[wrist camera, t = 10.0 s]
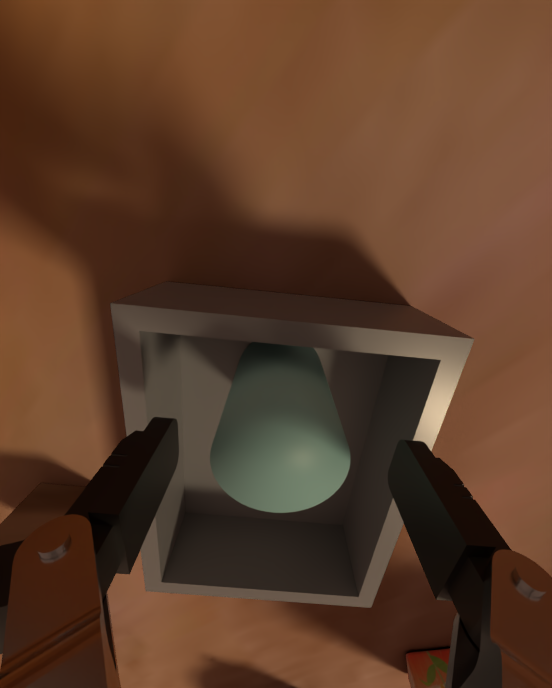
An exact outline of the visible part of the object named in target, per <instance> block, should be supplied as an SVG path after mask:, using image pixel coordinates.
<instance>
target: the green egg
mask: <svg viewBox="0 0 552 688" xmlns="http://www.w3.org/2000/svg"><path fill="white" fill-rule="evenodd" d="M210 465H211V469H212V472H213V475H214V477H215V479H216V481H217V482H218V484H219V485H220V486H221V488H222V489H223V490H224V491H225V492H226V493H227V494H228V495H229V496H231V497H232V498H233V499H235V500H236V501H238V502H240V503H241V504H243V505H246V506H248V507H251V508H254V509H257V510H261V511H265V512H273V513H287V512H296V511H301V510H305V509H308V508H311V507H313V506H316V505H318V504H320V503H322V502H323V501H325V500H326V499H328V498H329V497H330V496H332V495H333V494H334V493H335V492H336V491H337V490H338V489H339V488H340V486H341V485H342V484H343V482H344V480H345V479H346V477H347V474H348V471H349V468H350V450H349V446H348V443H347V440H346V436H345V433H344V430H343V427H342V424H341V421H340V418H339V415H338V412H337V409H336V406H335V403H334V400H333V397H332V394H331V391H330V388H329V385H328V382H327V379H326V376H325V373H324V370H323V367H322V364H321V361H320V358H319V356H318V354H317V352H316V351H315V349H314V348H312V347H301V346H291V345H280V344H270V343H260V342H252V343H251V344H250V345H249V346H248V347H247V348H246V349H245V350H244V352H243V354H242V356H241V358H240V360H239V363H238V366H237V369H236V373H235V376H234V379H233V382H232V385H231V388H230V391H229V394H228V397H227V400H226V403H225V406H224V409H223V412H222V415H221V419H220V422H219V425H218V428H217V431H216V434H215V437H214V440H213V443H212V447H211V451H210Z"/></svg>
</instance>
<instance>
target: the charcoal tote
mask: <svg viewBox="0 0 552 688" xmlns="http://www.w3.org/2000/svg"><path fill="white" fill-rule="evenodd" d="M110 306H111V314H112V322H113V330H114V338H115V346H116V354H117V362H118V371H119V379H120V387H121V395H122V403H123V411H124V419H125V427H126V435H127V436H128V435H130V434H131V433H133V432H134V431H135V430H137V431H144V430H145V428H146V427H147V425H148V424H149V422H150V421H151V420H152V418H153V417H163V418H175V419H177V422H178V439H179V458H178V463H177V467H176V470H175V472H174V474H173V477H172V479H171V481H170V483H169V486H168V488H167V490H166V493H165V495H164V497H163V499H162V502H161V504H160V506H159V508H158V511H157V513H156V515H155V517H154V520H153V522H152V524H151V526H150V529H149V531H148V533H147V536H146V538H145V540H144V542H143V545H142V547H141V557H142V565H143V573H144V581H145V589H146V591H151V592H165V593H178V594H192V595H205V596H219V597H232V598H246V599H259V600H272V601H286V602H299V603H313V604H326V605H340V606H353V607H367V608H371V607H372V604H373V601H374V599H375V596H376V594H377V591H378V588H379V586H380V583H381V581H382V578H383V575H384V573H385V570H386V568H387V565H388V562H389V560H390V557H391V555H392V552H393V549H394V547H395V544H396V542H397V539H398V536H399V534H400V531H401V529H402V526H403V523H404V522H403V520H402V518H401V515H400V513H399V510H398V508H397V506H396V503H395V501H394V498H393V496H392V494H391V491H390V489H389V485H388V470H389V467H390V464H391V461H392V458H393V455H394V452H395V449H396V446H397V444H398V442H399V441H400V440H413V441H423V442H424V443H425V444H426V445H427V446H428V448H429V449H430V450H431V451H432V448H433V445H434V443H435V440H436V438H437V435H438V432H439V430H440V427H441V425H442V422H443V419H444V417H445V414H446V412H447V409H448V406H449V404H450V401H451V399H452V396H453V393H454V391H455V388H456V386H457V383H458V380H459V378H460V375H461V373H462V370H463V367H464V365H465V362H466V360H467V357H468V354H469V352H470V349H471V347H472V344H473V341H474V338H472V337H470V336H468V335H466V334H464V333H462V332H460V331H458V330H456V329H454V328H452V327H451V326H449V325H447V324H445V323H443V322H441V321H439V320H437V319H435V318H433V317H431V316H429V315H428V314H426V313H424V312H422V311H420V310H418V309H416V308H414V307H412V306H407V305H397V304H387V303H377V302H367V301H357V300H347V299H337V298H327V297H317V296H307V295H297V294H287V293H277V292H267V291H257V290H247V289H237V288H227V287H217V286H207V285H197V284H187V283H177V282H167V281H166V282H164V283H161V284H159V285H156V286H153V287H151V288H148V289H146V290H143V291H141V292H138V293H135V294H133V295H130V296H128V297H125V298H122V299H120V300H117V301H115V302H112V303H110ZM252 342H260V343H270V344H280V345H291V346H301V347H312V348H314V349H315V351H316V352H317V354H318V356H319V358H320V361H321V364H322V367H323V370H324V373H325V376H326V379H327V382H328V385H329V388H330V391H331V394H332V397H333V400H334V403H335V406H336V409H337V412H338V415H339V418H340V421H341V424H342V427H343V430H344V433H345V436H346V440H347V443H348V446H349V450H350V468H349V471H348V474H347V477H346V479H345V480H344V482H343V484H342V485H341V486H340V488H339V489H338V490H337V491H336V492H335V493H334V494H333V495H332V496H330V497H329V498H328V499H326V500H325V501H323V502H322V503H320V504H318V505H316V506H313V507H311V508H308V509H305V510H301V511H296V512H287V513H273V512H265V511H261V510H257V509H254V508H251V507H248V506H246V505H243V504H241V503H240V502H238V501H236V500H235V499H233V498H232V497H231V496H229V495H228V494H227V493H226V492H225V491H224V490H223V489H222V488H221V486H220V485H219V484H218V482H217V481H216V479H215V477H214V475H213V472H212V469H211V465H210V451H211V447H212V443H213V440H214V437H215V434H216V431H217V428H218V425H219V422H220V419H221V415H222V412H223V409H224V406H225V403H226V400H227V397H228V394H229V391H230V388H231V385H232V382H233V379H234V376H235V373H236V369H237V366H238V363H239V360H240V358H241V356H242V354H243V352H244V350H245V349H246V348H247V347H248V346H249V345H250V344H251V343H252Z"/></svg>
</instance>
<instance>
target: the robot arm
mask: <svg viewBox="0 0 552 688" xmlns="http://www.w3.org/2000/svg"><path fill="white" fill-rule="evenodd" d="M178 458H179V439H178V422H177V419H175V418H163V417H153V418H152V420H151V421H150V422H149V424H148V425H147V427H146V428H145V430H144V431H137V430H135V431H134V432H133V433H131V434H130V435H128V436H127V437H126V438H124V439H123V440H121V442H120V443H119V444H118V446H117V447H116V448H115V450H114V451H113V452H112V455H111V456H109V457H108V459H107V460H106V461H105V463H104V464H103V467H101V468H100V469H99V471H98V472H97V473H96V474H95V476H94V477H93V478H92V480H91V481H90V482H89V484H88V485H87V486H86V488H85V489H84V490H83V492H82V493H81V494H80V495H79V497H78V498H77V499H76V501H75V502H74V503H73V505H72V506H71V507H70V509H69V510H68V511H67V512H66V513H65V515H64V516H60V517H58V518H55V519H53V520H50V521H48V522H47V523H45V524H43V525H41V526H40V527H39V528H37V529H36V530H35V531H33V532H32V533H31V534H30V535H29V536H28V537H27V538H26V539H25V540H22V541H18V542H14V543H10V544H5V545H1V546H0V654H2V653H3V655H2V663H1V669H0V688H121V685H120V679H119V673H118V666H117V659H116V652H115V645H114V638H113V631H112V624H111V616H110V609H109V602H108V595H107V590H108V588H109V586H110V584H111V582H112V580H113V578H114V576H115V574H116V573H119V574H130V572H131V570H132V567H133V565H134V563H135V560H136V558H137V556H138V554H139V551H140V549H141V547H142V545H143V542H144V540H145V538H146V536H147V533H148V531H149V529H150V526H151V524H152V522H153V520H154V517H155V515H156V513H157V511H158V508H159V506H160V504H161V502H162V499H163V497H164V495H165V493H166V490H167V488H168V486H169V483H170V481H171V479H172V477H173V474H174V472H175V470H176V467H177V463H178ZM388 485H389V489H390V491H391V494H392V496H393V498H394V501H395V503H396V506H397V508H398V510H399V513H400V515H401V518H402V520H403V522H404V525H405V527H406V529H407V532H408V534H409V537H410V539H411V541H412V544H413V546H414V548H415V551H416V553H417V556H418V558H419V560H420V563H421V565H422V567H423V570H424V572H425V575H426V577H427V579H428V582H429V584H430V586H431V589H432V591H433V594H434V596H435V598H436V600H447V601H453V603H454V605H455V607H456V609H457V613H456V615H455V617H454V623H453V630H452V638H451V646H450V653H449V661H448V669H447V676H446V684H445V688H552V577H551V576H550V575H549V574H548V573H547V572H546V571H545V570H544V569H543V568H541V567H540V566H539V565H538V564H536V563H535V562H534V561H532V560H531V559H529V558H527V557H526V556H524V555H522V554H520V553H517V552H515V551H512V550H511V549H510V548H509V546H508V545H507V543H506V542H505V541H504V539H503V538H502V537H501V535H500V534H499V532H498V531H497V530H496V528H495V527H494V525H493V524H492V523H491V521H490V520H489V518H488V517H487V516H486V514H485V513H484V512H483V510H482V509H481V507H480V506H479V505H478V503H477V502H476V500H473V496H472V495H471V494H470V492H469V491H468V489H467V488H466V487H464V484H463V482H462V481H461V480H460V478H459V477H458V476H457V474H456V473H455V471H454V470H453V469H452V468H450V467H449V466H448V465H447V464H446V463H445V462H443V461H442V460H441V459H440V458H435V456H434V455H433V453H432V452H431V450H430V449H429V448H428V446H427V445H426V444H425V443H424V442H423V441H413V440H400V441H399V442H398V444H397V446H396V449H395V452H394V455H393V458H392V461H391V464H390V467H389V470H388Z"/></svg>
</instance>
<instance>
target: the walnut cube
mask: <svg viewBox="0 0 552 688" xmlns="http://www.w3.org/2000/svg"><path fill="white" fill-rule="evenodd" d="M85 488H86V487H83V486H70V485H58V484H46V483H40V484H39V485H38V486H37V487H36V488H35V489H34V490H33V491H32V492H31V493H30V494H29V495H28V496H27V497H26V498H25V499H24V500H23V501H22V502H21V503H20V504H19V505H18V506H17V508H16V509H15V510H14V511H13V512H12V513H11V514H10V515H9V516H8V517H7V518H6V519H5V520H4V521H3V522H2V523H1V524H0V546H1V545H5V544H10V543H14V542H18V541H22V540H25V539H26V538H27V537H28V536H29V535H30V534H31V533H32V532H33V531H35V530H36V529H37V528H39V527H40V526H41V525H43V524H45V523H47V522H48V521H50V520H53V519H55V518H58V517H60V516H64V515H65V513H66V512H67V511H68V510H69V509H70V507H71V506H72V505H73V503H74V502H75V501H76V499H77V498H78V497H79V495H80V494H81V493H82V492H83V490H84V489H85Z"/></svg>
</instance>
